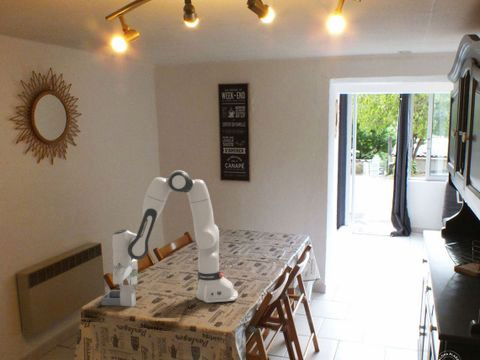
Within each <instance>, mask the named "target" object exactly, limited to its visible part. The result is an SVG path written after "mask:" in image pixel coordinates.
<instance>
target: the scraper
mask: <svg viewBox="0 0 480 360" xmlns="http://www.w3.org/2000/svg"><path fill="white" fill-rule="evenodd" d="M123 285H125V286H129V283H128V280H127V279H125V280H124V281H123Z"/></svg>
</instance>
